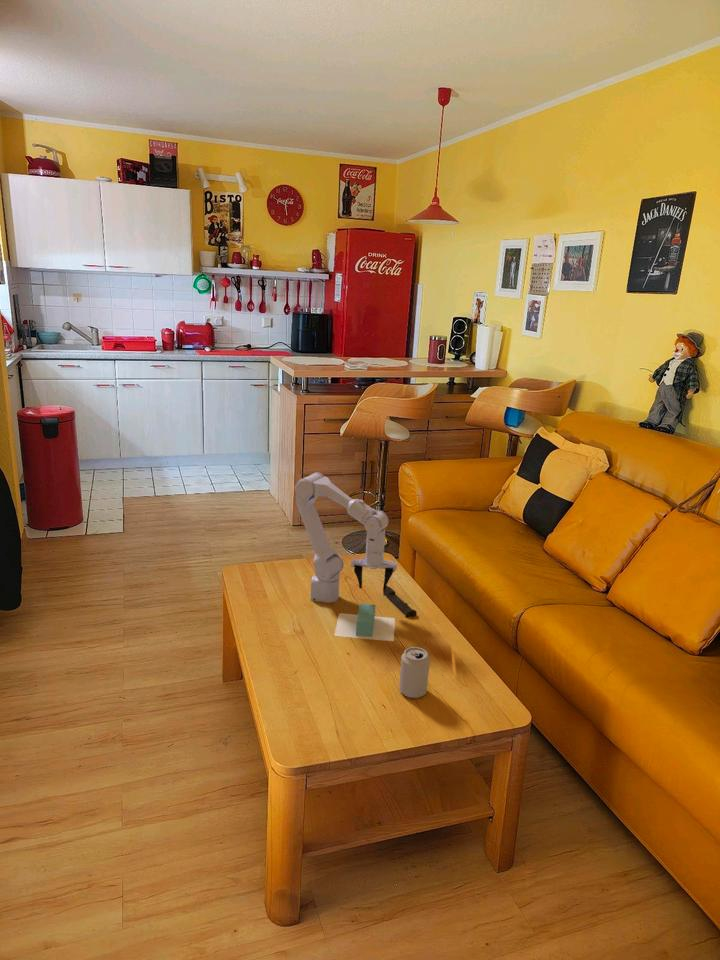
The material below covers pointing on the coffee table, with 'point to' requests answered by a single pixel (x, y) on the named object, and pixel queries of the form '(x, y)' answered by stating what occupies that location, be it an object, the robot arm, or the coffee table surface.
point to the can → (414, 672)
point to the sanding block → (365, 620)
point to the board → (380, 630)
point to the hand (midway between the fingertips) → (372, 588)
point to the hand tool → (399, 602)
